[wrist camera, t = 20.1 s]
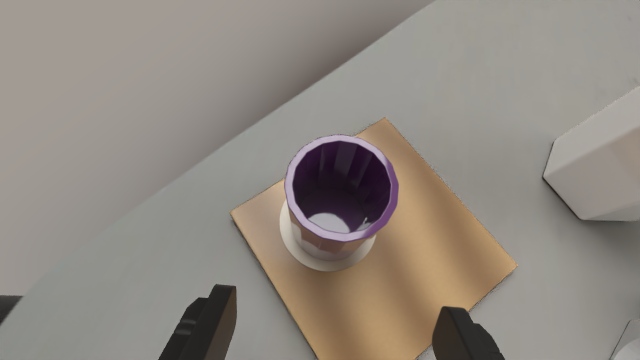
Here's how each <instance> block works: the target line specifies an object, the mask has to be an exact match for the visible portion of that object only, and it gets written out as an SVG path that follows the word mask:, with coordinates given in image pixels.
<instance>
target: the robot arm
mask: <svg viewBox="0 0 640 360" xmlns="http://www.w3.org/2000/svg"><path fill="white" fill-rule="evenodd" d="M236 318H237V305H236V286H230V285H219V284H216V285H215V286H214V287H213V289H212V291H211V293H210V295H209V297H208V298H198V299H196V300H195V301H194V302H193V303H192V304H191V305H190V306H189V307H187V309H186V311H185V313H184V314H183V316H182V318H181V320H180V323H178V325H177V327H176V329H175V330H174V334H172V336H171V338H170V339H169V341H168V343H167V345H166V347H165V348H164V350H163V352H162V354H161V356H160V357H159V359H158V360H224V359H225V356H226V354H227V351H228V348H229V345H230V342H231V339H232V336H233V333H234V329H235V325H236ZM432 346H433V351H434V354H435V357H436V359H437V360H505V359H504V357H503V355H502V353H500V350H499V348H498V347H497V345H496V343H495V341H494V340H493V338H492V336H491V335H490V334H489V333H488V332H487V331H486V330H485V329H484V328H483V327H482V326H481V325H480V324H475V323H473V321H472V320H471V318H470V316H469V314H468V312H467V311H466V309H465V308H461V307H450V306H443V307H442V308H441V310H440V313H439V316H438V319H437V322H436V325H435V328H434V331H433V335H432Z"/></svg>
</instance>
